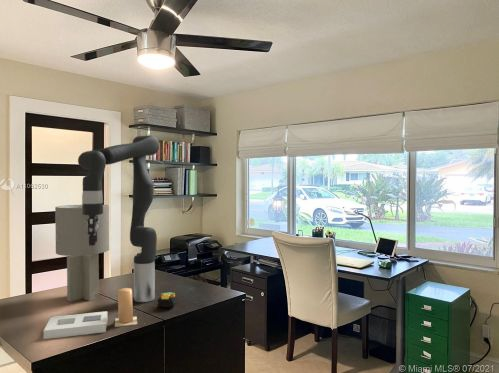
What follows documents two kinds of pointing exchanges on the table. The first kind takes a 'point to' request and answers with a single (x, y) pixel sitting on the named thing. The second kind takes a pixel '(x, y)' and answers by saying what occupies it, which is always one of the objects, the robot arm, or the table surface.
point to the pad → (125, 323)
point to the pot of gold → (167, 299)
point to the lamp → (80, 249)
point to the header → (76, 325)
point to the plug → (125, 305)
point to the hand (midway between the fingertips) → (93, 243)
